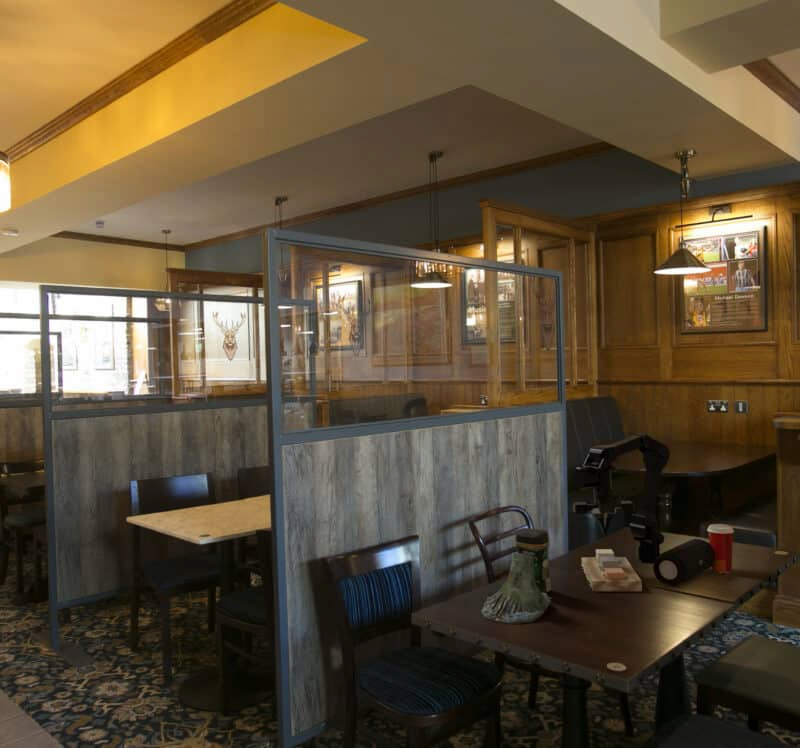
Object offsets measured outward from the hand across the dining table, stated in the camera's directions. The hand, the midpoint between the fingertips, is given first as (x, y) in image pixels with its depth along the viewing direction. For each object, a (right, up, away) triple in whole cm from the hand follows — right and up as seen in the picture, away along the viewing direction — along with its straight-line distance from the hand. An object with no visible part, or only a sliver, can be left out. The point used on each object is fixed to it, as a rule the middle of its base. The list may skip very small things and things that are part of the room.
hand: (604, 533), depth 228 cm
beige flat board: (-1, -12, -8) cm, 15 cm away
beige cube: (0, -11, +1) cm, 11 cm away
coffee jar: (-26, -13, -18) cm, 35 cm away
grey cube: (-1, -11, -8) cm, 14 cm away
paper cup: (+35, -11, -6) cm, 37 cm away
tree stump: (-34, -14, -34) cm, 50 cm away
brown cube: (-2, -13, -17) cm, 22 cm away
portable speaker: (+21, -11, -11) cm, 27 cm away
